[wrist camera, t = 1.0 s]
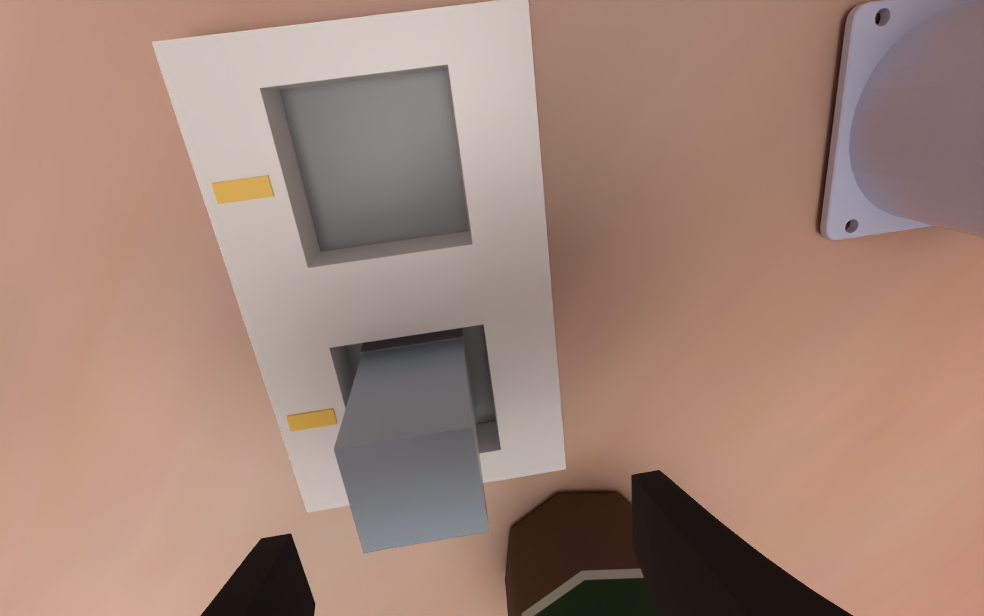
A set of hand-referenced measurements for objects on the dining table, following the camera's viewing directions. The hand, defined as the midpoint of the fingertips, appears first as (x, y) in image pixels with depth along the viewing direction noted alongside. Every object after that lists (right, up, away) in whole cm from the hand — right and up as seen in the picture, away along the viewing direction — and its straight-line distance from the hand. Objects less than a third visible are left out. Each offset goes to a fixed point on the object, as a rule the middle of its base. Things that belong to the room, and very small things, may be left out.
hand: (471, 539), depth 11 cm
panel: (-3, +6, +8) cm, 11 cm away
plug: (-2, +2, +9) cm, 10 cm away
